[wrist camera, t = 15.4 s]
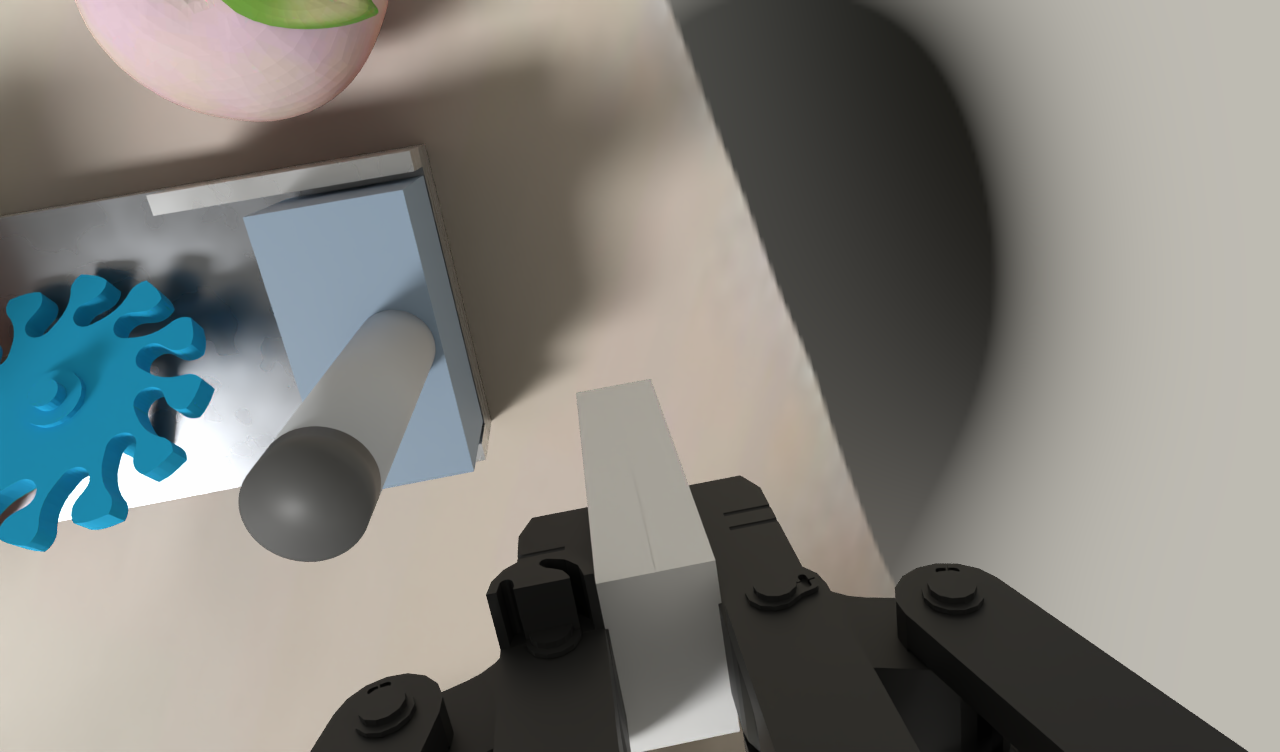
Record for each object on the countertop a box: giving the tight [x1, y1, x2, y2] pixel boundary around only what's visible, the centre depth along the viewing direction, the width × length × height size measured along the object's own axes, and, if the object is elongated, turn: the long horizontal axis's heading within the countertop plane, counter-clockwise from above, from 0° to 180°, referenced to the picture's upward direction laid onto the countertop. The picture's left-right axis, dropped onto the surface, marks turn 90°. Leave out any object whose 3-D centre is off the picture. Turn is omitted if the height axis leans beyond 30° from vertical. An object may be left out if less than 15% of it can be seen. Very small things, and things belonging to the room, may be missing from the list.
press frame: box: [0, 144, 491, 526], centre depth 29 cm, size 12×24×10 cm, turn 99°
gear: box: [0, 274, 215, 552], centre depth 30 cm, size 11×6×10 cm
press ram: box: [239, 175, 483, 562], centre depth 24 cm, size 10×5×16 cm, turn 9°
